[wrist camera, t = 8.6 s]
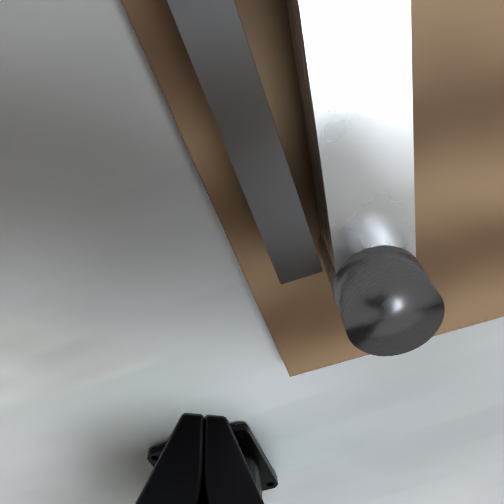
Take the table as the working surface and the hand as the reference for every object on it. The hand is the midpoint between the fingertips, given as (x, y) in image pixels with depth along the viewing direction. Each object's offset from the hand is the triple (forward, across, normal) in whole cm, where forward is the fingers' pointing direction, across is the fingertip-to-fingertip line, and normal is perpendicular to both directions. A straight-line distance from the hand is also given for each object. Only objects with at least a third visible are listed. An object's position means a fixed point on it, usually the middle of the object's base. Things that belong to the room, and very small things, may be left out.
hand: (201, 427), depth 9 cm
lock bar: (+10, -4, -4) cm, 12 cm away
